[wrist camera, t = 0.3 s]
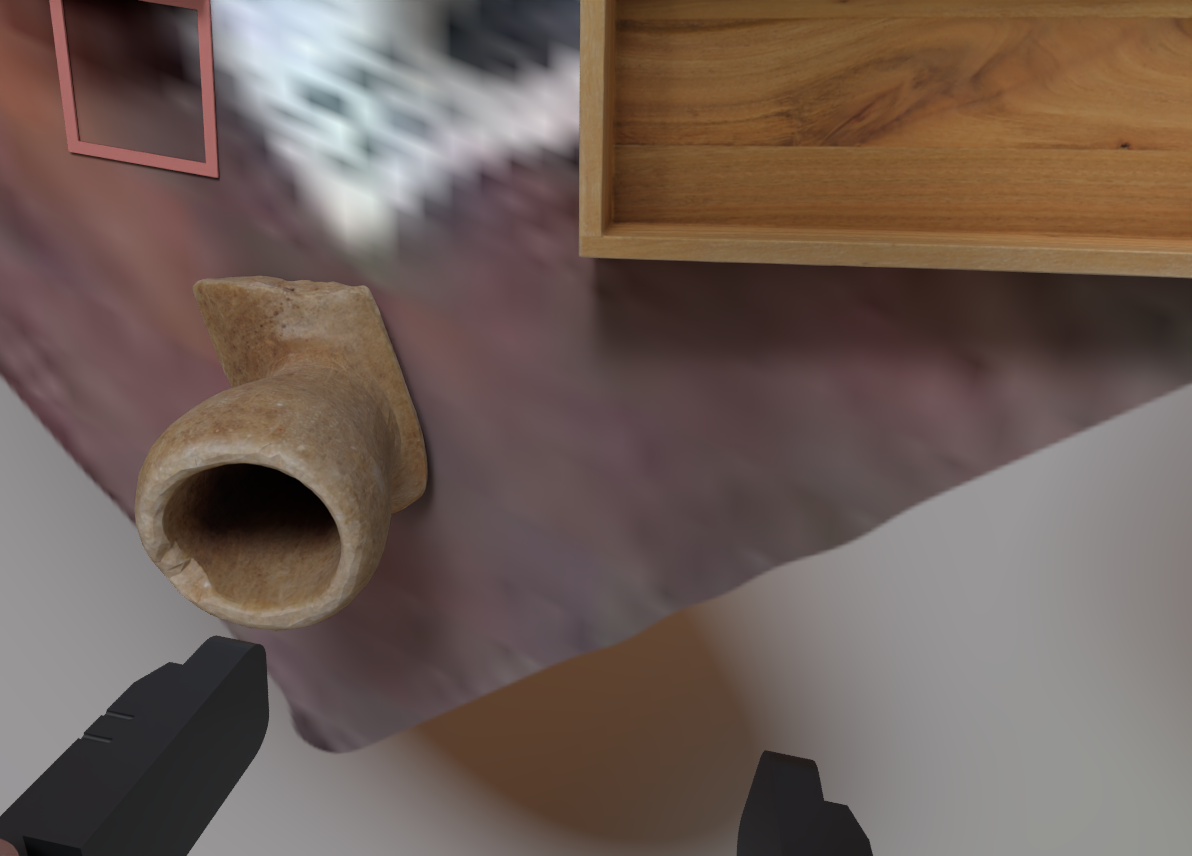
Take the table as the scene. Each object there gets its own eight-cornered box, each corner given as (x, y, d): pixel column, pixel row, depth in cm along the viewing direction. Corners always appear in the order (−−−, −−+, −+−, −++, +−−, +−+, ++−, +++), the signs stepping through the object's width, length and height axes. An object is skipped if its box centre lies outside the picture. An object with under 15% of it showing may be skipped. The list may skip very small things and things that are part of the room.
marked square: (47, -29, 35) (45, -30, 35) (209, -3, 34) (208, -3, 34) (70, 151, 38) (68, 151, 38) (218, 177, 38) (217, 178, 38)
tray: (1389, -136, 28) (1549, -197, 23) (1248, 261, 34) (1350, 286, 29) (598, -120, 31) (578, -170, 26) (593, 240, 37) (577, 258, 32)
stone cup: (482, 495, 43) (384, 668, 29) (301, 515, 45) (130, 684, 31) (414, 237, 38) (254, 300, 24) (212, 273, 40) (-41, 350, 26)
